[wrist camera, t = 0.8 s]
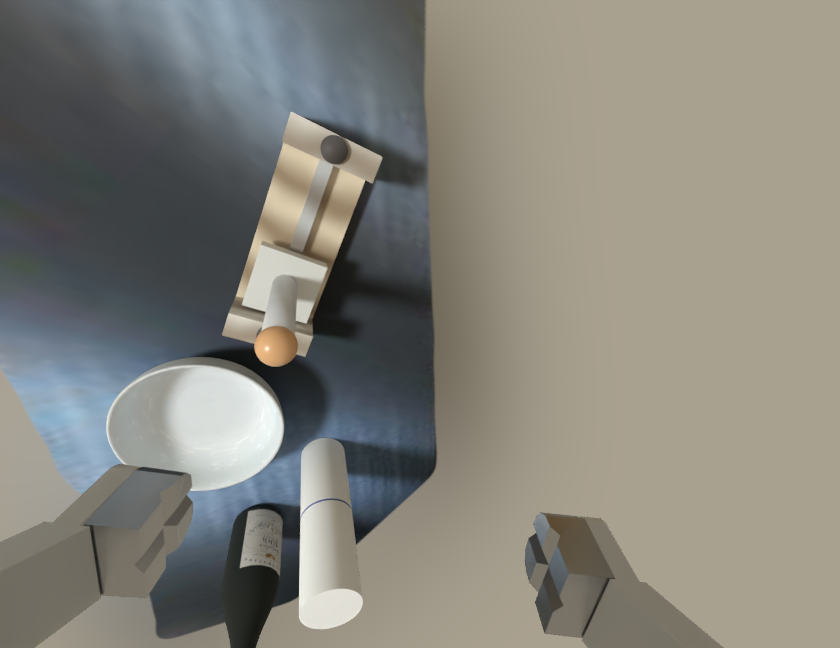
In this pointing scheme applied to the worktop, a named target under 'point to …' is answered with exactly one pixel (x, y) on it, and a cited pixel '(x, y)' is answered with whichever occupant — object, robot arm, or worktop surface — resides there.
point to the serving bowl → (198, 421)
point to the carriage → (282, 299)
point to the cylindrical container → (327, 539)
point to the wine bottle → (251, 574)
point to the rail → (305, 212)
